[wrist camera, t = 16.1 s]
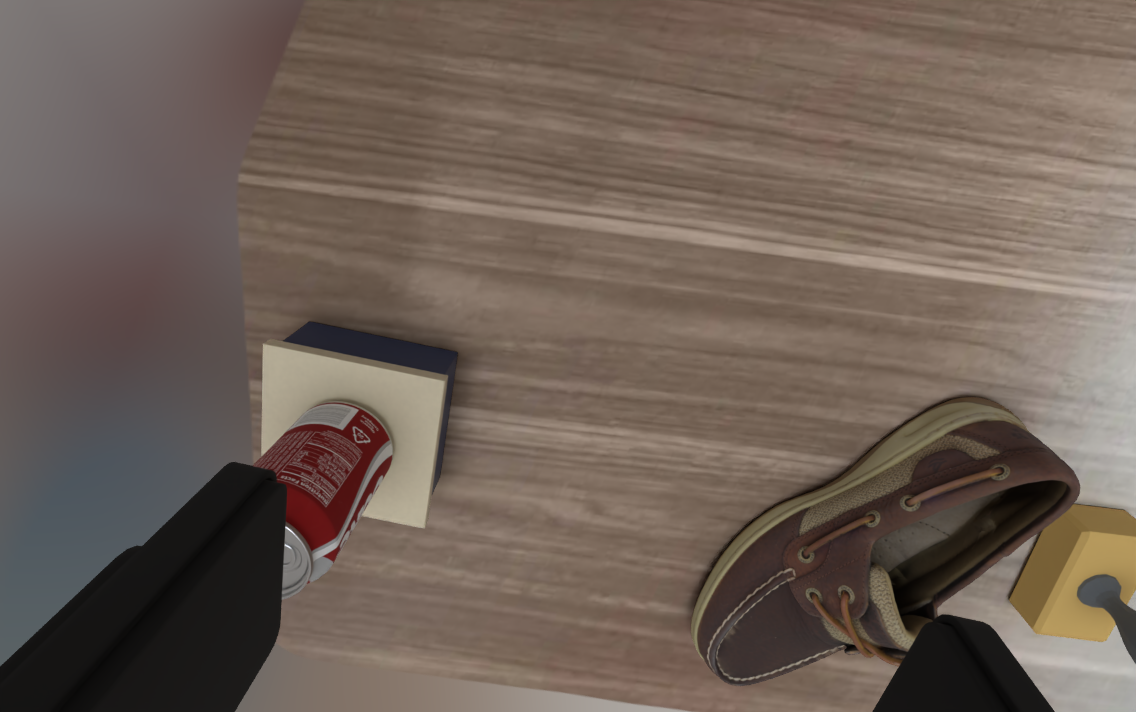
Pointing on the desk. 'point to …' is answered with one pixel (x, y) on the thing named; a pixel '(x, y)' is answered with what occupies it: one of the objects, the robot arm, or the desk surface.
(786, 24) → the desk surface
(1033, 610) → the rubber stamp
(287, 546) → the soda can
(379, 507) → the navy box with lid
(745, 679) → the boat shoe
